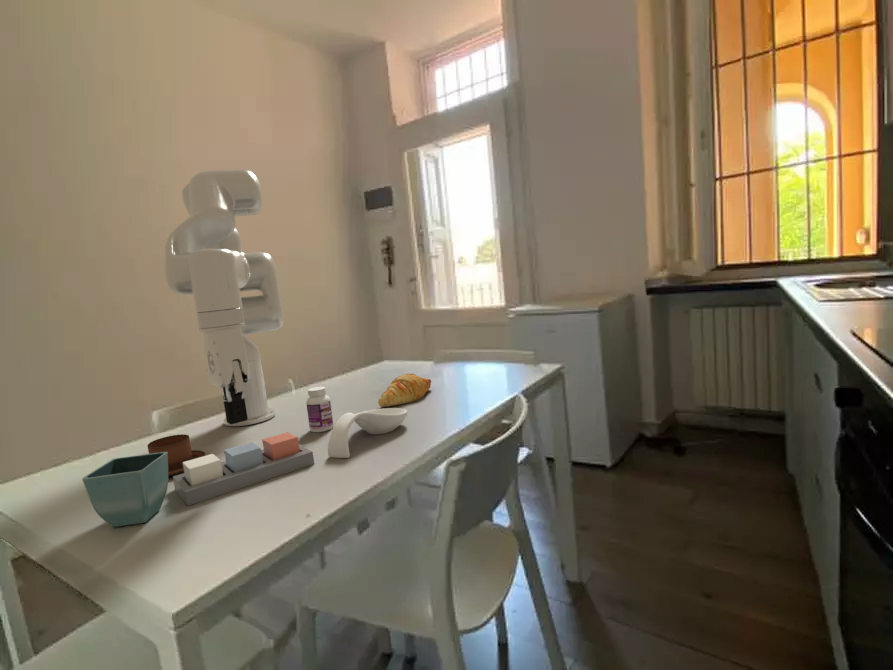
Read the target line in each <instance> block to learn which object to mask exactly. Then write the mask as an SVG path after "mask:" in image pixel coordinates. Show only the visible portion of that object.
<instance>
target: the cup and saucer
mask: <svg viewBox="0 0 893 670" xmlns="http://www.w3.org/2000/svg"><path fill="white" fill-rule="evenodd" d="M191 445H192V444H191V439H190V435H188V434H173V435H169V436H164V437H160V438H158V439H157V438H156V439H155V440H152V441H150V442H149V443H147V445H146V447H147V450H148V454H152V453H160V452H167V453H168V477H171V476H172V477H173V476H176V475H179V474H183V473H184V468H183V462H185V461H189V460H192V459H196V458H199V457H203V456H206V452H205V451H203V450H198V449H197V450H196V449H195V450H193V449H192V446H191Z"/></svg>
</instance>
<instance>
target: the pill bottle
mask: <svg viewBox="0 0 893 670" xmlns="http://www.w3.org/2000/svg"><path fill="white" fill-rule="evenodd" d="M326 394H327V389H326V387H325V386H315V387H311V388H308V389H307V395H308V398H307V400H306V403H305V404H306V411H307V417H308V425H309V430H310V432H312V433H323V432H327V431H330V430H333V428H334V419H333V412H332V411H333V410H332V402H331V398H330V396H329V395H326Z"/></svg>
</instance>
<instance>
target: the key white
mask: <svg viewBox="0 0 893 670" xmlns="http://www.w3.org/2000/svg"><path fill="white" fill-rule="evenodd" d="M221 462H222V461H221V458H218V456H216V455H215V454H213V453H211V454H205V456H203V457H199V458H196V459H192V460H189V461H185V462H183V468H184V472H183V473H184V474H185V479H186V480H187V481H188V482H189V483H190V484H191V485H192V486H193V485H196V484H199V483H203V482H206V481H209V480H212V479H215V478H219V477H222V476H223V472H222V466H221Z"/></svg>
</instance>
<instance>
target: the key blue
mask: <svg viewBox="0 0 893 670" xmlns="http://www.w3.org/2000/svg"><path fill="white" fill-rule="evenodd" d="M261 450H262V448H261V447H260V446H258V445H257V444H255V443H253V442H248V443H245V444H241V445H237V446H234V447H231V448H227V449H223V452H224V458H225V461H226V465H227V467H229V468H230V469H231V470H232V471H234V472H238V471H241V470H244V469H247V468H251V467H254V466H257V465H260V464H263V459H262V453H261Z"/></svg>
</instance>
